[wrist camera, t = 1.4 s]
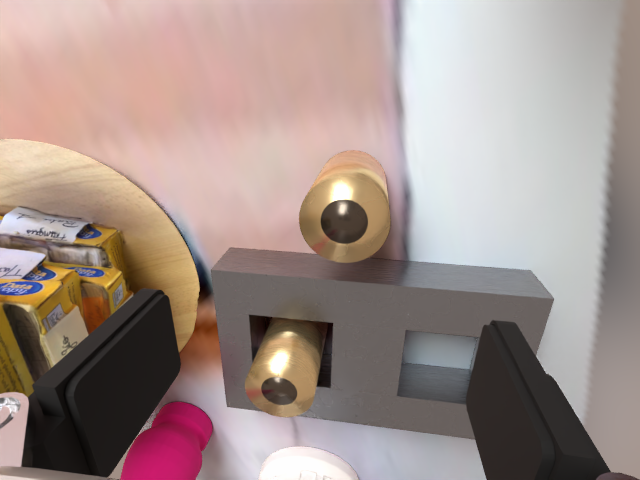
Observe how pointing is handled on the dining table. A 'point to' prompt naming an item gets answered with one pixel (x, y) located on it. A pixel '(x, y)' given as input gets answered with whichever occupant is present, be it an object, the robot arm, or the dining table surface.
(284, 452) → the decorative container
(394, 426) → the jig
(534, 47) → the dining table surface
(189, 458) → the pepper mill
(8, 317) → the stacked packages on plate
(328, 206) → the bushing
